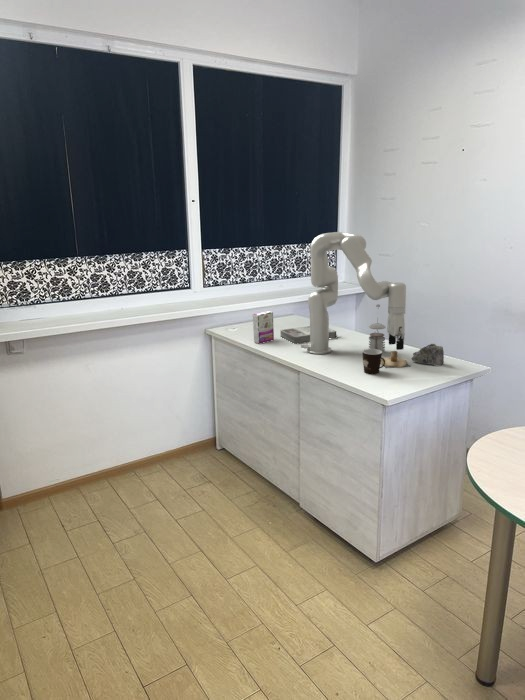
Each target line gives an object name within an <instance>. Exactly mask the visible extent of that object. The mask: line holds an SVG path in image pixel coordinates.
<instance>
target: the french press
mask: <svg viewBox="0 0 525 700" xmlns="http://www.w3.org/2000/svg"><path fill="white" fill-rule="evenodd" d="M375 306H376V308H380V307H381V305H380V304H378V303H377V304H376V305H375ZM376 320H377V322H376V323H371V324H370V325H369V326H368V327H369V328H370V329H371V330H376V332H371V333H369V337H368V349H377V350H381V351H382V355H384V354H386V351H385V346H386V344H385V343H386V337H385V334H384V333H382V332H379V331H378V330H383V329H386V325H384V324H382V323H379V318H377V319H376Z"/></svg>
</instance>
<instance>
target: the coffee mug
mask: <svg viewBox="0 0 525 700" xmlns="http://www.w3.org/2000/svg"><path fill="white" fill-rule="evenodd" d="M361 353H362V363H363V373H364V374H366V375H377V374H379V373H380V369H383V368H384V365H385V360H384V359H383V358H384V357H383V354H382V351H381V350H377V349H370V348H366V349H363V350H362V351H361ZM381 359H382V360H383V361H384V364H383V365H382V364H380V363H381Z"/></svg>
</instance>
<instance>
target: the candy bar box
mask: <svg viewBox="0 0 525 700" xmlns="http://www.w3.org/2000/svg"><path fill="white" fill-rule="evenodd" d="M252 326H253V343H254V342H256V343H255V344H257V343H262V344H264V343H263V342H265V343H268V342H267V341H269V342H272V341H271V340H273V341H274V340H275V335H274V334H275V333H274V331H275V330H274V312H273V311H270V310H267V311H262V312H257V313H256V312H255V313H253V314H252Z"/></svg>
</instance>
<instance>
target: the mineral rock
mask: <svg viewBox="0 0 525 700" xmlns="http://www.w3.org/2000/svg"><path fill="white" fill-rule="evenodd" d="M444 353H445V352H444V347H443V346H442V345H437V344H435V343H430V344H428V345H426V346H424V347H421V348H420V349H419V350H418V351H415V352H413V353H412V355H413V356H412V357H411V361H412V362H414V363H417V364H421V365H432V366H437V367H438V366H443V365H444V357H445V354H444Z"/></svg>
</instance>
